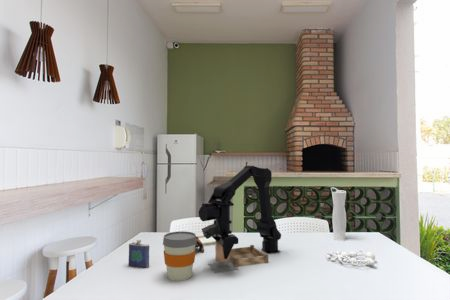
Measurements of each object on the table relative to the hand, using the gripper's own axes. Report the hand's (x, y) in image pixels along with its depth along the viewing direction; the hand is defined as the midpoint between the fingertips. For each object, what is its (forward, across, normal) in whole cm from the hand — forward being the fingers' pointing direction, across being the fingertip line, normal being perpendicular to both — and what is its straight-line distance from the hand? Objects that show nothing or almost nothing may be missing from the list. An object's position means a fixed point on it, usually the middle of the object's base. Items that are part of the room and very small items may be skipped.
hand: (222, 256), depth 117 cm
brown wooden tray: (+4, -5, +12) cm, 14 cm away
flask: (+5, -13, -32) cm, 35 cm away
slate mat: (+4, 0, 0) cm, 4 cm away
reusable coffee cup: (+4, +2, -18) cm, 19 cm away
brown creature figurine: (+5, -23, -6) cm, 24 cm away
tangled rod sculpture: (+5, +14, +53) cm, 55 cm away
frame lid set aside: (+4, -37, +6) cm, 38 cm away
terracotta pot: (+1, 0, 0) cm, 1 cm away
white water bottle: (+5, -16, +73) cm, 75 cm away
